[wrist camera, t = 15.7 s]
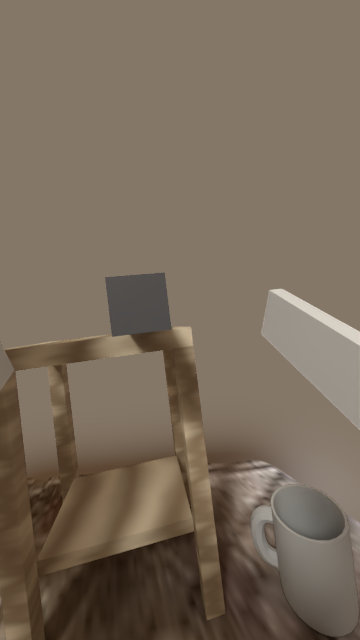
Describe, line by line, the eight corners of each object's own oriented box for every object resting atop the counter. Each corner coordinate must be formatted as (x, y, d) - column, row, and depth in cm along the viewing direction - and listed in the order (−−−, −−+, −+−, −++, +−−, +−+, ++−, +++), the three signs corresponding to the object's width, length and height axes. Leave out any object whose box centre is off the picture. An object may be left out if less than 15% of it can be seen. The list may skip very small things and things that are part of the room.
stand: (11, 692, 19) (-26, 350, 19) (71, 527, 35) (50, 340, 35) (225, 613, 22) (190, 324, 23) (191, 495, 38) (171, 325, 39)
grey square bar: (112, 336, 11) (105, 277, 11) (134, 329, 36) (131, 312, 36) (171, 329, 11) (164, 272, 11) (151, 327, 37) (149, 310, 37)
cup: (370, 662, 18) (356, 556, 19) (249, 601, 23) (239, 518, 23) (351, 571, 25) (341, 493, 25) (259, 538, 30) (251, 473, 30)
